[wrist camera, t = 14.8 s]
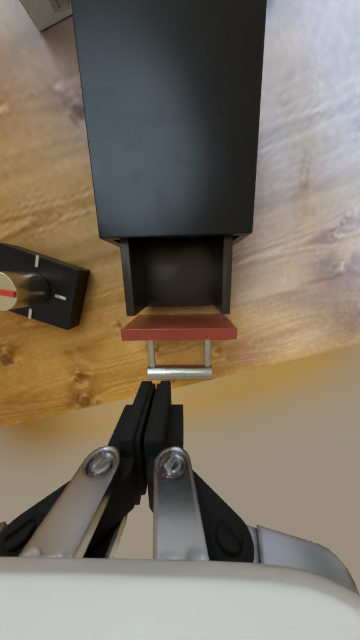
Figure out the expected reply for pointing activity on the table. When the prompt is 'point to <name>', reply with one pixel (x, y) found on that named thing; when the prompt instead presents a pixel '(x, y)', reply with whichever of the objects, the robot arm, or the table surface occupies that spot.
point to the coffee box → (47, 11)
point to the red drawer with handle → (178, 295)
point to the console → (62, 282)
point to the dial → (22, 289)
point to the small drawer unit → (171, 114)
